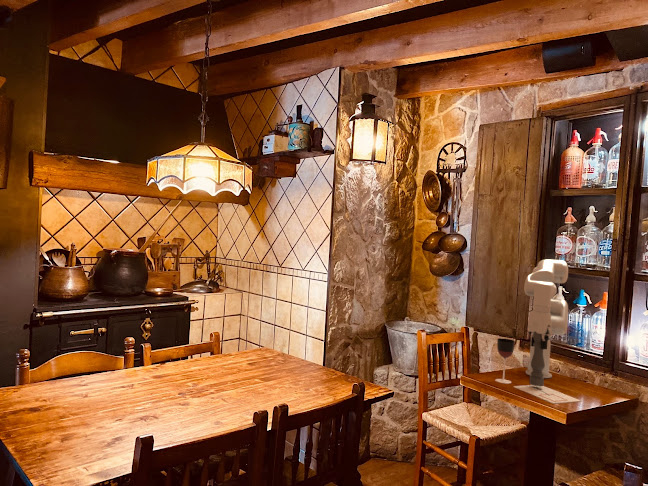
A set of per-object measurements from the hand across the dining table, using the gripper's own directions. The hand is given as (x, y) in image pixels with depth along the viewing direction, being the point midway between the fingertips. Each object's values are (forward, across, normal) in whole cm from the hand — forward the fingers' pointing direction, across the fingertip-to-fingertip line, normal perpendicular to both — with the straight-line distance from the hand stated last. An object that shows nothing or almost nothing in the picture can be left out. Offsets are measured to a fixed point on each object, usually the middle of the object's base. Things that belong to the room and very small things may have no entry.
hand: (538, 347), depth 239 cm
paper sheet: (+19, +8, -2) cm, 21 cm away
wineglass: (+20, -13, -8) cm, 25 cm away
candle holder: (+18, 0, 0) cm, 18 cm away
